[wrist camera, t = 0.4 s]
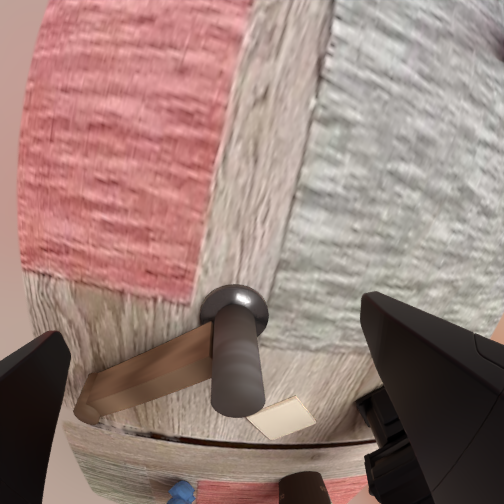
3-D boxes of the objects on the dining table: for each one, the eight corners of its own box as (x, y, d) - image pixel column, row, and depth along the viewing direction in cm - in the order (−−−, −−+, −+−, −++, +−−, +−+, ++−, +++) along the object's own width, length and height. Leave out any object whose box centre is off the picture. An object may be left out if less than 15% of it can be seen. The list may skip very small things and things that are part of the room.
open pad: (315, 420, 31) (316, 423, 30) (270, 437, 31) (271, 440, 31) (295, 395, 29) (296, 398, 28) (246, 415, 29) (246, 417, 29)
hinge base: (279, 322, 25) (280, 326, 24) (223, 348, 26) (223, 353, 25) (247, 272, 23) (247, 276, 22) (187, 303, 24) (186, 307, 23)
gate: (241, 297, 23) (248, 377, 15) (261, 326, 24) (274, 406, 16) (81, 374, 25) (53, 438, 18) (102, 394, 26) (80, 458, 19)
